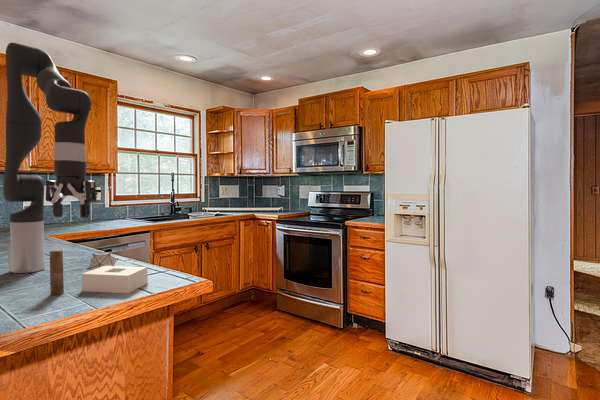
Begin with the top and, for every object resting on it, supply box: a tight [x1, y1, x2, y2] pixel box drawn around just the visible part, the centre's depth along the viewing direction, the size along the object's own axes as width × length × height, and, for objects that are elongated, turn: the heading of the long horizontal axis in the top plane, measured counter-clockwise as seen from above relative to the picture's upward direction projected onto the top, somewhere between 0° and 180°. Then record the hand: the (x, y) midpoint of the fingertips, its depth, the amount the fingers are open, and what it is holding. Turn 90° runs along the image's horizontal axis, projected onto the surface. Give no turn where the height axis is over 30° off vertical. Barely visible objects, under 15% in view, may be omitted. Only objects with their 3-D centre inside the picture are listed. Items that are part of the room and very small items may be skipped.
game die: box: [86, 250, 119, 271], centre depth 114 cm, size 9×8×10 cm
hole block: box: [81, 265, 149, 294], centre depth 102 cm, size 14×10×5 cm
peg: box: [49, 249, 65, 297], centre depth 95 cm, size 3×3×12 cm
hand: (71, 217), depth 98 cm, fingers open, 8 cm apart
